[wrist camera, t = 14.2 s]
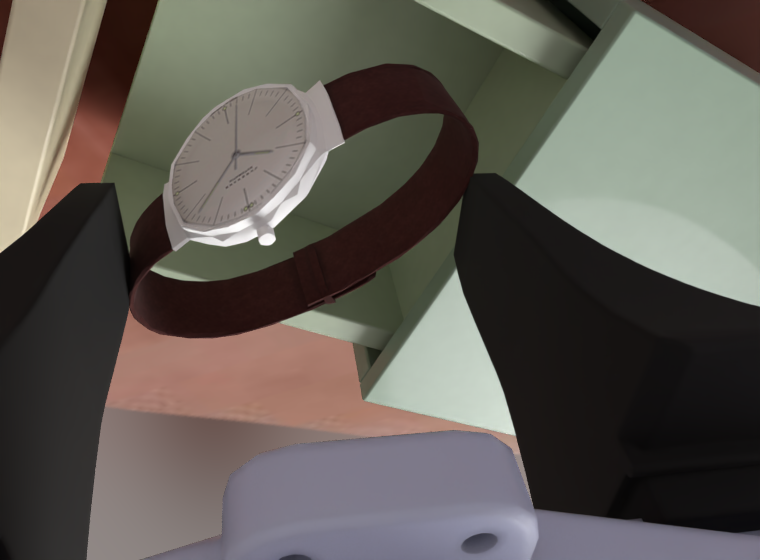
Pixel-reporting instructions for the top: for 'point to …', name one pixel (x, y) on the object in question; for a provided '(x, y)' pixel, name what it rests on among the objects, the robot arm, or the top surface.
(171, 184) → the watch
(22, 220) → the drawer
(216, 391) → the top surface
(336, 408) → the top surface
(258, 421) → the top surface
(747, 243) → the cabinet
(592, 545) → the robot arm
